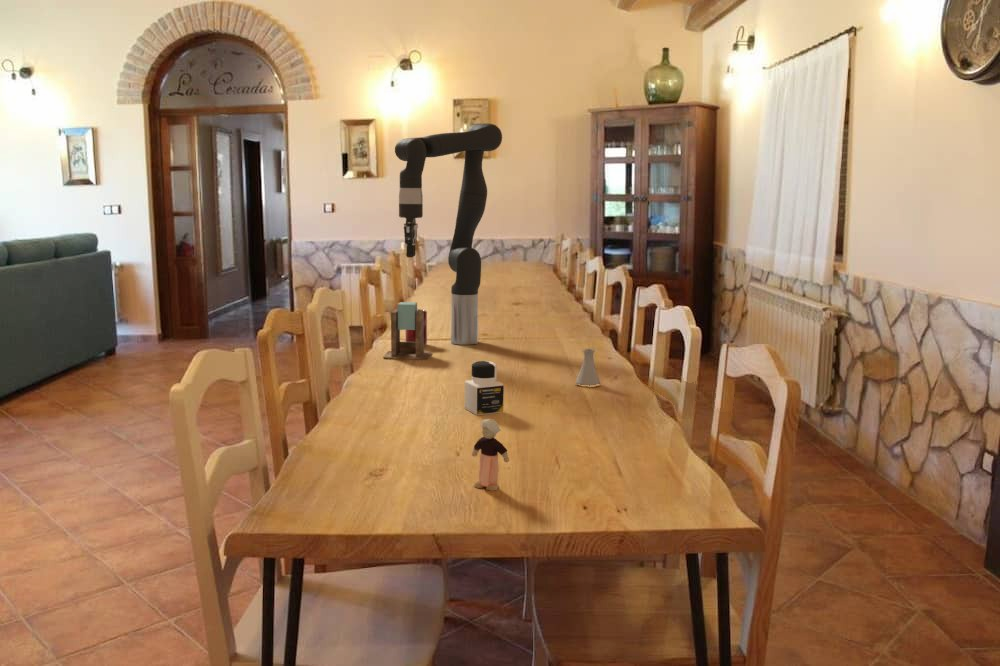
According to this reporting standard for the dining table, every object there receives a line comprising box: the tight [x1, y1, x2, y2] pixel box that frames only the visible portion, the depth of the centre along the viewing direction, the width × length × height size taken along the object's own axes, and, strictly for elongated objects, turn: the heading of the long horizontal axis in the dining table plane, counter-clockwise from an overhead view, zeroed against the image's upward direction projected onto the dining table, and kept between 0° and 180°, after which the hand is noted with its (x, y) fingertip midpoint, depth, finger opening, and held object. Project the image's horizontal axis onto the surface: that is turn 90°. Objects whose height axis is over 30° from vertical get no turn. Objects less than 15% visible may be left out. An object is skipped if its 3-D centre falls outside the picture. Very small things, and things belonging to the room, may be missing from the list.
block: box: [397, 301, 418, 331], centre depth 266 cm, size 5×5×8 cm
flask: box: [575, 348, 601, 386], centre depth 231 cm, size 7×7×10 cm
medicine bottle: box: [464, 360, 505, 417], centre depth 202 cm, size 7×7×12 cm
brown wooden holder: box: [382, 308, 432, 361], centre depth 267 cm, size 14×10×15 cm
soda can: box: [405, 308, 428, 347], centre depth 287 cm, size 7×7×12 cm
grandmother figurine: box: [471, 418, 510, 492], centre depth 150 cm, size 8×4×13 cm, turn 69°
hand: (410, 256), depth 271 cm, fingers open, 3 cm apart
